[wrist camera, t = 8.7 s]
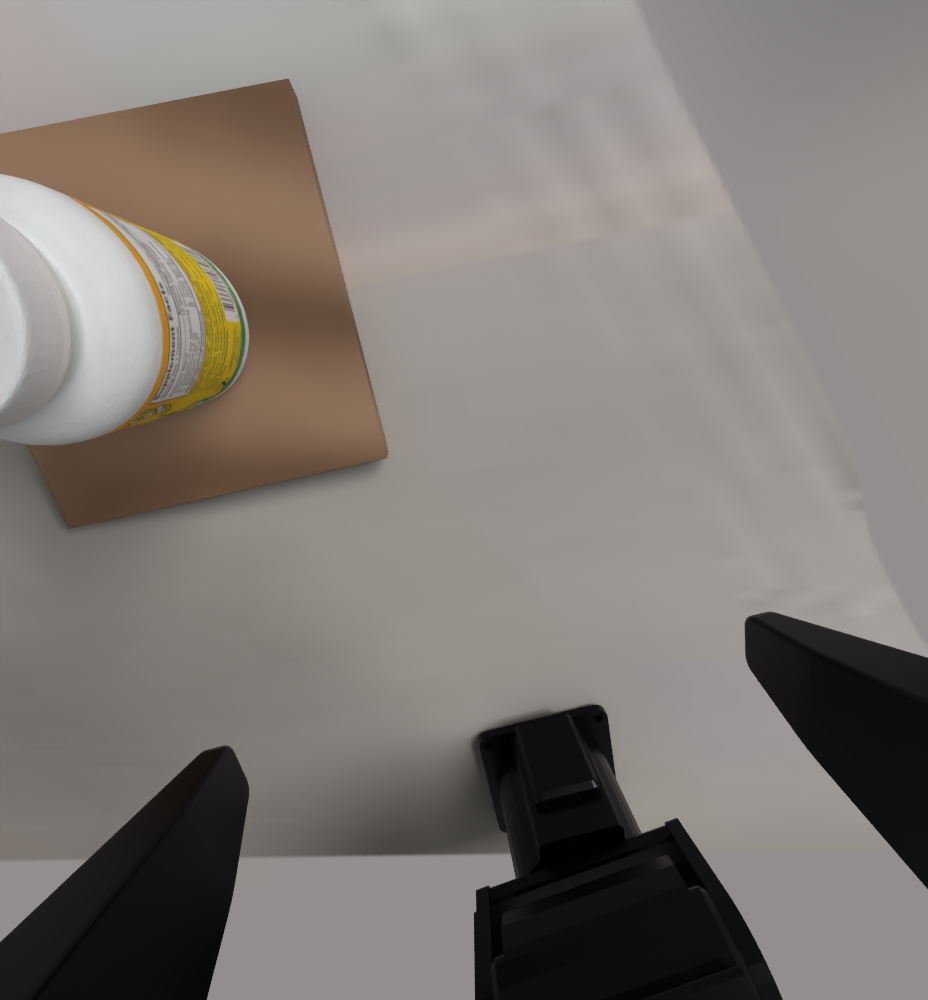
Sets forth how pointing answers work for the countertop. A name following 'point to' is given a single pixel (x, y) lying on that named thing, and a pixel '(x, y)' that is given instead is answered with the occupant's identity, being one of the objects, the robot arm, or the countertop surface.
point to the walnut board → (255, 277)
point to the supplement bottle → (104, 321)
